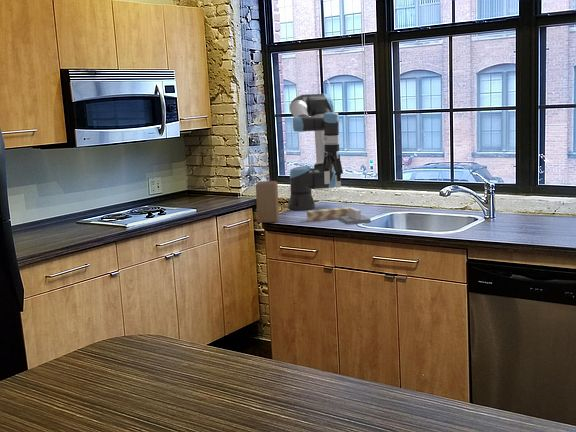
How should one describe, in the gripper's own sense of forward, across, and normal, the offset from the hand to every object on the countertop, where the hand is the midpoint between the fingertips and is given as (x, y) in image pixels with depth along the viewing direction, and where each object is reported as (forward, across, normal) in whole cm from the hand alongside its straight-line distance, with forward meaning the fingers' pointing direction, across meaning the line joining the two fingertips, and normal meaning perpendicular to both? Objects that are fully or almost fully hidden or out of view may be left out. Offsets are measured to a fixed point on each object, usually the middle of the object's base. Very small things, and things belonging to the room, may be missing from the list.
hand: (332, 185), depth 340 cm
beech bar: (+17, -1, -1) cm, 17 cm away
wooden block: (+17, -11, -31) cm, 38 cm away
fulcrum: (+17, +11, +7) cm, 21 cm away
